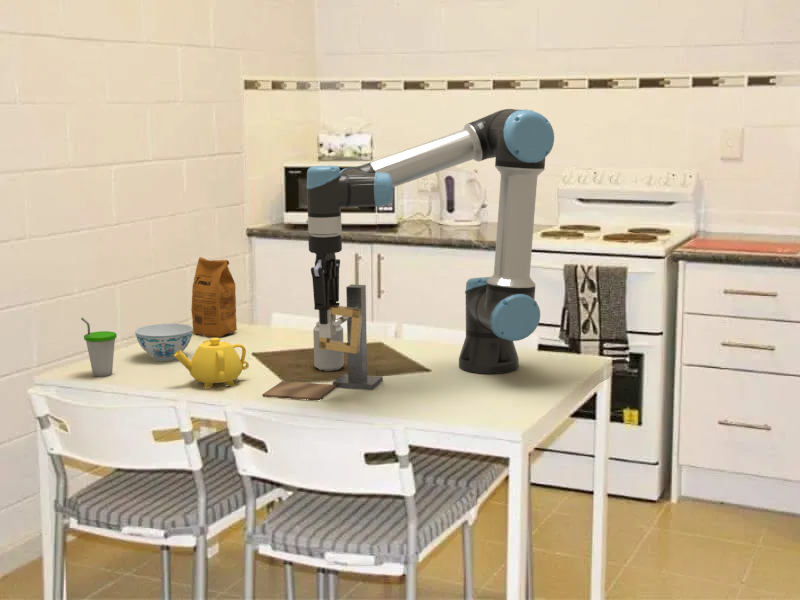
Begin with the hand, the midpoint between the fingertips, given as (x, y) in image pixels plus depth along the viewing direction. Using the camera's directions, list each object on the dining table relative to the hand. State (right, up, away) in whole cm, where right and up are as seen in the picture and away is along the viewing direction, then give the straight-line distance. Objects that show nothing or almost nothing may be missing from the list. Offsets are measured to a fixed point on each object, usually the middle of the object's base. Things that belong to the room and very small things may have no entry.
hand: (327, 335), depth 266 cm
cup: (-58, -11, +24) cm, 63 cm away
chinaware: (-46, -7, +40) cm, 61 cm away
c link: (+3, -3, 0) cm, 4 cm away
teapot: (-29, -12, +15) cm, 35 cm away
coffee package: (-37, -2, +69) cm, 78 cm away
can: (-1, -9, +28) cm, 29 cm away
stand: (+5, -13, +6) cm, 15 cm away
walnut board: (-7, -13, +6) cm, 16 cm away
